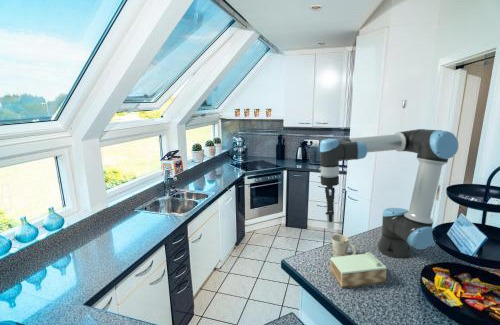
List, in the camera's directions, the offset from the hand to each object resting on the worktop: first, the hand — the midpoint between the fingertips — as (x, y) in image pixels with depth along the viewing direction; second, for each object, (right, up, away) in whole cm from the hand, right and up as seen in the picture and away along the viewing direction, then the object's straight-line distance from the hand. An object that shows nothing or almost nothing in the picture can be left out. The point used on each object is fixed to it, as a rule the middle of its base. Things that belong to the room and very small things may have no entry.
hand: (330, 221), depth 117 cm
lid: (+13, -19, +1) cm, 23 cm away
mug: (+13, -23, +19) cm, 33 cm away
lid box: (+13, -26, +2) cm, 29 cm away
